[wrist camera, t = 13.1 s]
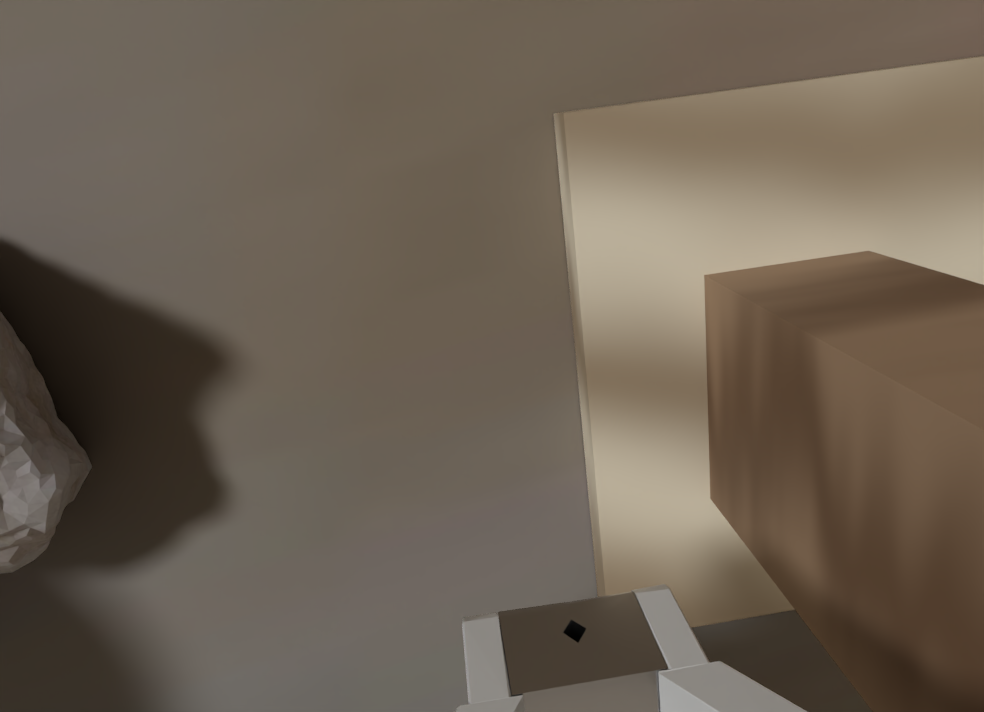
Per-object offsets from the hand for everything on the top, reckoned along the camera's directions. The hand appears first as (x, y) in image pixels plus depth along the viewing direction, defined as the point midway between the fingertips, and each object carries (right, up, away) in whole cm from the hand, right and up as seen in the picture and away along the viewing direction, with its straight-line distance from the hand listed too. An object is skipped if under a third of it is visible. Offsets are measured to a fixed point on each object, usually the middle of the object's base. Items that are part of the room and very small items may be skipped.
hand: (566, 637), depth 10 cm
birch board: (+7, +4, +9) cm, 12 cm away
